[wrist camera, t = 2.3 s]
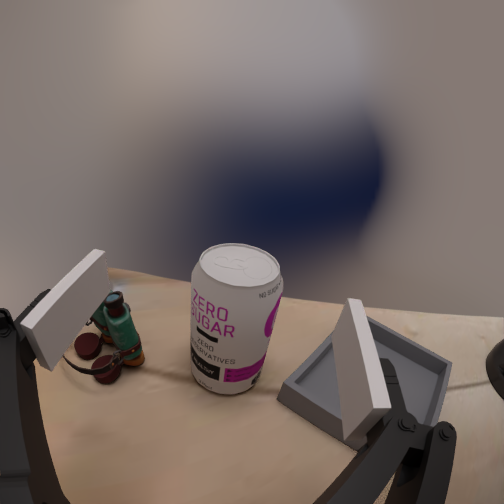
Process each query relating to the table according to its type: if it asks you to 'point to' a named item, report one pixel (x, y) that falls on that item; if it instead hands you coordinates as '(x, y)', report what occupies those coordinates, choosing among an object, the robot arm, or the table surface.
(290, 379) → the tray
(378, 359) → the robot arm
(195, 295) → the supplement can
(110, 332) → the binoculars
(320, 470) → the table surface
